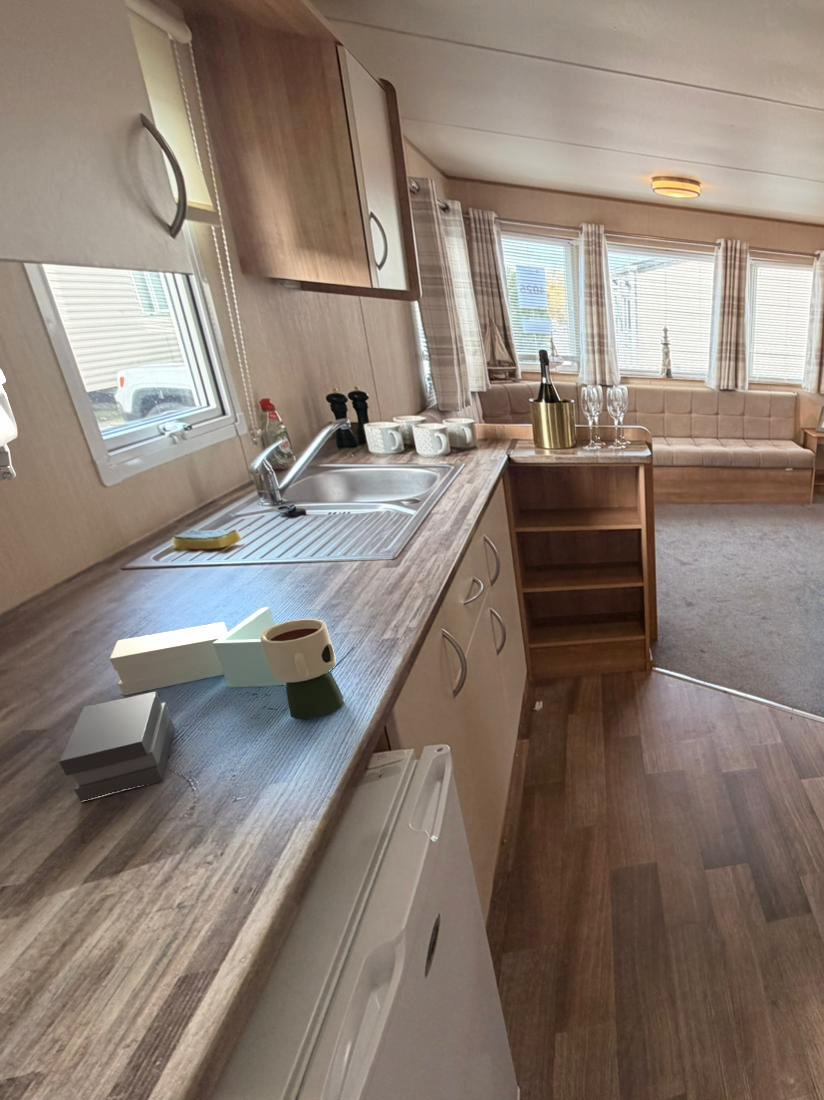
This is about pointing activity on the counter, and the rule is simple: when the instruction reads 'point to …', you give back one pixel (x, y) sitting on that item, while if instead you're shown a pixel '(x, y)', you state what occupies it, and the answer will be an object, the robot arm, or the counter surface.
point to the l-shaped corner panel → (246, 652)
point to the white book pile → (169, 673)
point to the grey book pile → (119, 745)
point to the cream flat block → (166, 646)
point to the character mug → (304, 666)
